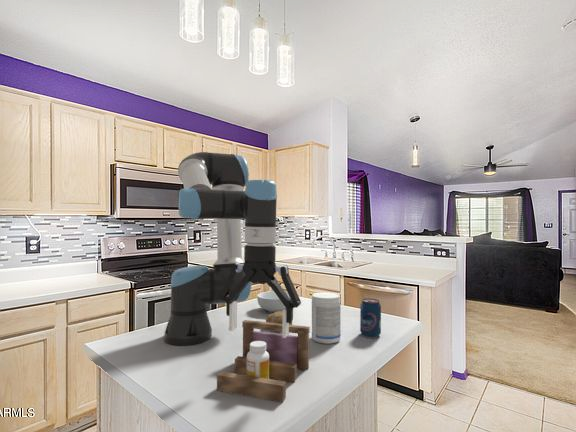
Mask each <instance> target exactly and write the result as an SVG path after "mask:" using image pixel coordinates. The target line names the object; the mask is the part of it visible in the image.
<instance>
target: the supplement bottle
mask: <svg viewBox="0 0 576 432" xmlns="http://www.w3.org/2000/svg"><path fill="white" fill-rule="evenodd" d="M247 376H254V377H260V378H266V379H270V378H269V353H268V352H267V351H266V342H264V341H254V342H251V343H250V352H249V353H248V354H247Z"/></svg>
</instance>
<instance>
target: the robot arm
mask: <svg viewBox="0 0 576 432" xmlns="http://www.w3.org/2000/svg"><path fill="white" fill-rule="evenodd" d="M177 172H178V173H177V174H178V179H179V180H180V182H182V183H183V188H180V190H179V192H178V215H179V217H180V218H183V219H192V220H196V219H197V220H199V219H200V220H201V219H206V220H207V219H208V220H209V219H211V220H212V219H213V220H215V219H216V237H217V238H216V240H217V243H216V244H217V246H216V247H217V248H216V249H217V251H216V252H217V253H216V254H217V259H216V260H215V261H214V263H213V265H212V268H213V269H209V267H208V266H207V265H205V264H203V265H192V266H191V265H190V266H185V267H182V268H178V269H176V270H174V271H173V272H172V273H171V278H170V279H171V280H170V281H171V282H170V284H169V286H170V315H169V319H168V322H167V325H166V327H165V330H164V337H163V338H164V339H163V340H164V341H165V343H166V344H168V345H169V344H170V345H173V346H189V345H195V344H202V343H203V342H206V341H208V340H209V339H211V338H212V336H213V334H212V333H213V329H212V328H213V327H212V325H211V322H210V320H209V315H208V305H219V304H226V305H225V306H226V316H227V317H228V318H229V319H228V331H229V332H233V331H234V330H236V329H237V328H238V303H240V302H245V301H247V300H248V298H249V297H250V294H251V291H252V285H253V284H257V283H258V284H260V285H266V284H267V286H268V287H269V288H271V289H272V291H274V292H275V294H276V295H277V296H278V298H279V299H280V300H281V302H282V303H283V305H284V306H285V308H284V309H283V322H282V332H281V334H282V338H286V337H287V335H289V334H290V333H289V323H291V322H292V323H293V321H294V309H295V308H298V307H299V306H300V305H302V301H301V299H300V297H299V294H298V292H297V290H296V288H295V285H294V282H293V280H292V279H291V277H290V272H289V266H288V265H287V264H286V265H283V266H277V263H276V257H277V256H276V255H277V254H276V251H277V250H276V246H275V245H274V244H276V243H277V242H276V240H277V239H276V238H277V199H278V194H277V184H276V182H275V181H273V180H269V179H250V180H249V175H250V173H249V165H248V163H247V160H246V159H245V157H244V156H243V155H238V154H235V153H219V152H208V151H200V152H195V153H192V154H190V155H187V156H186V157H184V158H183V159H182V160H181V161H180V163H179V164H178V169H177ZM241 220H244V243H246V245H245V246H244V250H243V249H242V221H241ZM243 251H244V253H243V254H242V252H243ZM243 255H244V256H243ZM276 273H278V275H279V276H281V277H280V279H281V280H282V283H283V285H284V287H285V290H284V288H283V287H282V286H281V285H280V283H279V282H278V279H277V278H276V276H275V274H276ZM285 291H287V292H288V294H289V297H290V298H289V297H288V295H287V294H286V293H285Z"/></svg>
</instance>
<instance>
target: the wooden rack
mask: <svg viewBox="0 0 576 432" xmlns="http://www.w3.org/2000/svg"><path fill="white" fill-rule="evenodd" d="M241 322H242V323H241V324H242V326H241V327H242V356H240V355H239V356H237V357H235V359H234V373H233V372H229V371H228V372H227V371H220V372H219V373H218V374H216V391H218V392H223V393H224V392H225V393H230V394H235V395H241V396H246V397H250V398H251V397H252V398H257V399H263V400H268V401H275V402H279V403H284V401H285V400H286V398H287V397H286V394H287V389H286V388H287V382H290V383H296V381H297V378H298V377H297V376H298V375H297V373H298V370H300V371H307V370H308V369H309V367H310V366H309V365H310V363H309V361H310V360H309V359H310V356H309V355H310V350H309V349H310V333H311V331H310V329H311V327H310V326H305V325H304V326H303V325H297V324H296V325H294V324H292V325H289V334H290V333H291V334H297V335H291V334H290V335H289V334H288V335H287V337H286V338H282V324H279V323H269V322H266V321H258V320H250V319H243V320H242V321H241ZM255 329H256V330H255ZM257 330H263V331H257ZM269 330H271V331H280V332H279V333H276V332H274V333H273V332H271V331H270V332H265V331H269ZM254 341H264V342H266V351H267V352H268V353H269V379H266V378H260V377H254V376H247V354H248V353H249V352H250V343H251V342H254Z"/></svg>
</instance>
